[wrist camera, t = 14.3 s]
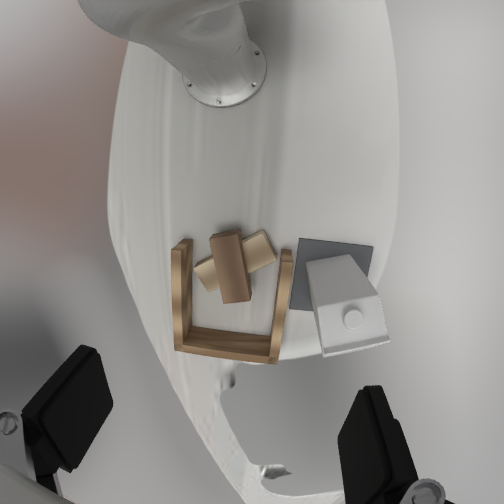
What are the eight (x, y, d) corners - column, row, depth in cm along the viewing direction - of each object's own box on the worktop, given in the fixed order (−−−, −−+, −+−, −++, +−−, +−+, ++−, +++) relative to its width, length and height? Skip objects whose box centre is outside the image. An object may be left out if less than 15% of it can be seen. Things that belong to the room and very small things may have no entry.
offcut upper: (226, 295, 45) (223, 303, 43) (213, 234, 43) (209, 238, 40) (251, 292, 45) (250, 300, 42) (239, 229, 42) (237, 234, 39)
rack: (183, 238, 46) (171, 249, 40) (291, 249, 45) (293, 262, 39) (184, 331, 51) (174, 350, 45) (277, 343, 50) (277, 364, 44)
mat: (299, 238, 44) (299, 238, 44) (372, 246, 44) (373, 247, 43) (289, 307, 48) (289, 309, 47) (357, 313, 47) (357, 314, 47)
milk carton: (353, 293, 46) (389, 365, 28) (311, 301, 47) (327, 379, 29) (349, 253, 44) (391, 311, 26) (305, 261, 45) (321, 326, 27)
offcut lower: (198, 262, 47) (193, 268, 44) (263, 228, 45) (262, 233, 42) (212, 284, 48) (208, 292, 45) (276, 253, 46) (276, 259, 43)
